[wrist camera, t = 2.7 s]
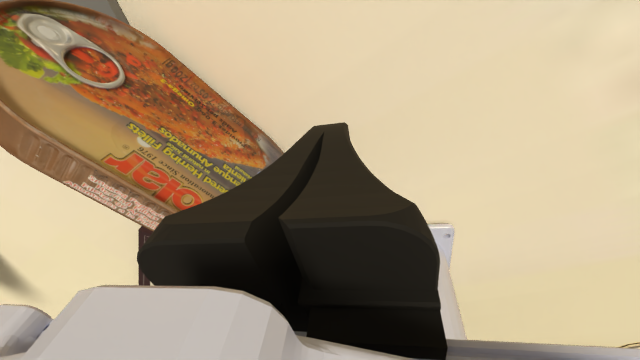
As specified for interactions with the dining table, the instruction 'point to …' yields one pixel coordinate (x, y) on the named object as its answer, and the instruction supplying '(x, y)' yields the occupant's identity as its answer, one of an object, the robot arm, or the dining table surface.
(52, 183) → the dining table surface
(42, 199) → the dining table surface
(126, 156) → the tin
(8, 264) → the dining table surface
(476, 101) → the dining table surface
